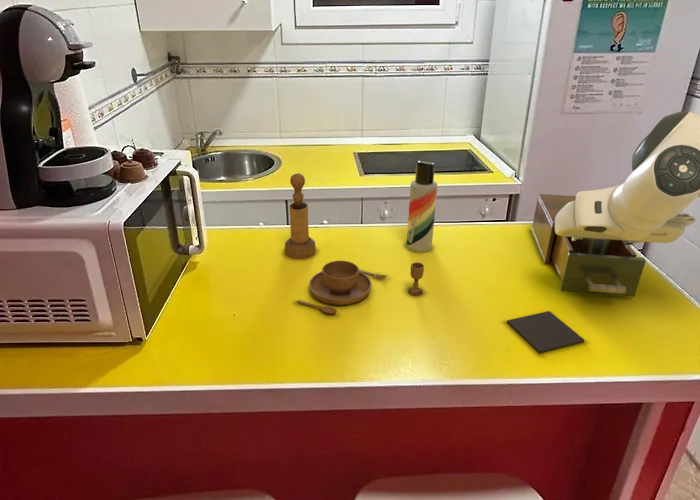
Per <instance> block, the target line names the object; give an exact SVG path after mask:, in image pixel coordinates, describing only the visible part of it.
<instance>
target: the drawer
mask: <svg viewBox="0 0 700 500" xmlns="http://www.w3.org/2000/svg"><path fill="white" fill-rule="evenodd" d="M582 242H583V240H581V241H580V242H579V241H572V237H567V236H558V235H557V234H556V233H555V235H554V240H553V244H552V249H551V254H550V256H551V259H552V261H553V263H554V265H553V266H554V268H555V271H556V273H557V275H558V277H559V280H560V284H559V290H560V291H561V292H567V293H580V294H590V295H591V294H594V295H604V296H616V297H631V298H635V296H636V294H637V290H638V288H639V287H638V286H639V284H640V280H641V277H642V274H643V272H644V268H645V265H646V262H647V261H646V258H644V257H638V256H637V253H636V252H635V251H634V250H633V248H632V247H631V245H625V244H624V240H611V241H610V245H609V249H608V252H607V255H596V254H582V253H580V250H581V246H582Z"/></svg>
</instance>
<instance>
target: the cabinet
mask: <svg viewBox="0 0 700 500" xmlns="http://www.w3.org/2000/svg"><path fill="white" fill-rule="evenodd" d="M575 200H576V195H563V194H546V193H545V194H544V193H538V194H537V199H536V206H535V210H534V216H533V219H532V220H533V222H532V225H531V234H532V236H533V238H534V241H535V244H536V246H537V249H538V251H539V254H540V257H541V259H542V262H543V264H544V265H548V266H549V265H550V266H554V263H553V261H552V259H551V256H550V254H551V249H552V244H553V240H554V235H555V217H556V215H557V214H558V212H559V211H560V210H561V209H562V208H563V207H564V206H565V205H566V204H568V203H570V202H572V201H575Z"/></svg>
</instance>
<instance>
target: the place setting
mask: <svg viewBox="0 0 700 500" xmlns="http://www.w3.org/2000/svg"><path fill="white" fill-rule="evenodd" d="M424 269H425V265H424V263H423V262H422V263H421V262H411V264H410V277H411V278H412V279H413V284H412V286H413V287H410V288H408V289H407V293H408V294H409V295H410V296H414V297H419V296H422V295H423V293H424V291H423V289H421V288H420V287H419V280H422V278H423V276H424V271H425V270H424ZM368 275H370V276H372V277H373V278H375V279H380V278H388V277H389V275H388V274H374V273H373V272H369V271H365V270H361V269H359V266H358V265H357V264H356V263H354V262H351V261H349V260H333V261H330V262H328V263H326V264H325V265H323V266H322V268H321V271H319V272H316V273H315V274H314V275H312V277H311V278H310V280H309V283H308V285H309V291H310V292H311V294H312V295H313V297H315V299H317V300H319V301H321V302H323V303H326V304H329V305H335V306H346V305H352V304H355V303H358V302H360V301H362V300H364V299H365V298H366V297H367V296H368V295H369V294H370V292H371V290H372V280H371V278H370V277H369V276H368ZM296 303H299V304H301V305H306V306H311V307H314V308H318V309H319V310H320V311H322V312H323V313H324V314H325V313H326V314H335V313H337V312H338V310H337V308H335V307H333V306H327V305H326V306H321V305H317V304H314V303H311V302H307V301H302V300H297V301H296Z"/></svg>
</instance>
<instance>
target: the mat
mask: <svg viewBox="0 0 700 500" xmlns="http://www.w3.org/2000/svg"><path fill="white" fill-rule="evenodd" d="M506 324H507V325H508V326H509V327H510V328H511V329H512V330H513V331H514V332H515V333H516V334H517V335H519V337H521V338H522V339H523V340H524V341H525V342H526V343H527V344H528V345H529V346H530V347H531V348H532V349H533V350H534V351H535V352H537V353H538V354H539V355H540V354H545V353H548V352H553V351H556V350H559V349H564V348H568V347H573V346H577V345H580V344H584V343H585V339H584V337H582V336H580V335H579V334H578V332H575V330H573V329H572V328H571V327H569V326H568V325H567V324H566V323H564V322H563V321H562V320H561V319H559V317H557V316H556V315H555V314H554V313H552V312H551V311H550V310H547V311H544V312H538V313H534V314H530V315H525V316H521V317H516V318H512V319H507V320H506Z"/></svg>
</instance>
